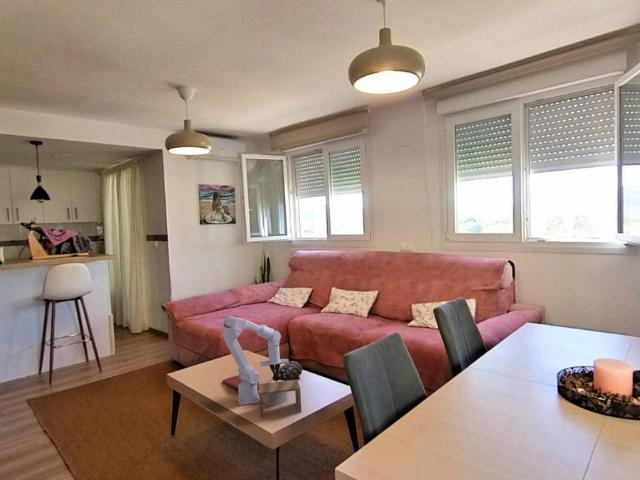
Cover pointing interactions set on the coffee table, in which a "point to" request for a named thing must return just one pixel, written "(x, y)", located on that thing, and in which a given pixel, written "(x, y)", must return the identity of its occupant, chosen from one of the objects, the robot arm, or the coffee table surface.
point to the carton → (235, 382)
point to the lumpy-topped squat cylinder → (275, 397)
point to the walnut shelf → (278, 388)
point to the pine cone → (289, 372)
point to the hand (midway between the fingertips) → (275, 378)
